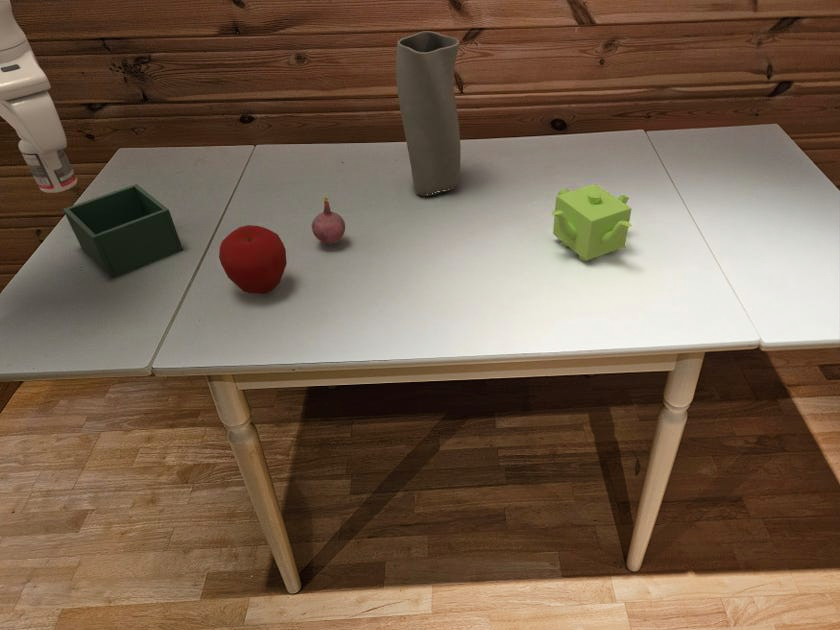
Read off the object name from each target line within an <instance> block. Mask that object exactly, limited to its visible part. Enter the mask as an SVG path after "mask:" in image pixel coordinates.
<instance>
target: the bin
mask: <svg viewBox="0 0 840 630" xmlns="http://www.w3.org/2000/svg"><path fill="white" fill-rule="evenodd" d="M62 210H63V212H64V215H65V216H66V219H67V221H68V223H69V225H70V227H71V230H72V232H73V233H74V236H75V237H76V240H77V242H78V243H79V246H80V248H81V250H82V251H83V252H84V253H85V254H86V255H87V256H88V257H89V258H90V259H91V260H92V261H93V262H94V263H95V264H96V265H97V266H98V267H99V268H100V269H101V270H102V272H104V273H105V275H107V276H108V278H110V279H111V280H113V279H116V278H118V277H120V276H123V275H125V274H128V273H130V272H132V271H135V270H138V269H140V268H142V267H144V266H148V265H150V264H152V263H154V262H156V261H157V262H158V261H160V260H162V259H165V258H168V257H169V256H171V255H174V254H177V253H179V252H182V251H183V250H184V249H183V245H182V242H181V240H180V237H179V234H178V231H177V229H176V226H175V223H174V220H173V217H172V214H171V211H170V209H169V208H167V207H166V206H165V205H164V204H162V203H161V202H160V201H159V200H158V199H156V197H154V196H152V194H150V193H149V192H148V191H146V190H145V189H144V188H142V187H141V186H140V185H139V184H138V183H135V184H132V185H129V186H127V187H126V186H125V187H124V188H120V189H118V190H115V191H112V192H107V193H105V194H103V195H100V196H97V197H94V198H91V199H88V200H85V201H82V202H79V203H76V204H73V205H70V206H68V207H65V208H62Z"/></svg>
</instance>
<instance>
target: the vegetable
mask: <svg viewBox="0 0 840 630" xmlns="http://www.w3.org/2000/svg"><path fill="white" fill-rule="evenodd" d="M323 201H324V202H323V204H324V206H323V211H322V212H320V213H318V214H317V215H316V216H315V217H314V219H313V220H312V223H311V230H312V234H313V236H314V237H315V238H316V239H317V240H318V241H320V242H322V243H324V244H327V245H331V244H336V243H337V242H339V241H340V240H341V239H342V238H343V237H344V235H345V231H346V222H345V220H344V219H343V217H342V216H341V215H340V214H338V213H337V212H334V211H331V206H330V202H329V199H328V197H327V196H326V195H325V196H323Z"/></svg>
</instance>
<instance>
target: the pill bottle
mask: <svg viewBox="0 0 840 630" xmlns="http://www.w3.org/2000/svg"><path fill="white" fill-rule="evenodd" d="M14 130H15V132H16V134H17V136H18V137H19V139H21V140H19V142H18V145H17V146H18V149H19V151H20V154H21V155H22V157H23V159H24V162H25V163H26V165H27V167H28V169H29V170H30V173H31V174H32V176H33V179H34V181H35V182H36V184H37V186H38V188H39V190H40V191H42V192H44V193H49V194H55V193H57V194H58V193H61V192H65V191H67V190H70V189H71V188H73V187H74V186H76V185H77V183H78V178H77V176H76V172H75V171H74V169H73V167H72V164H71V162H70V160H69V157H68V156H67V154H66V152H65V150H64V149H61V150H58V151H57V154H58V158H59V160H60V162H61V165H62V167H61V168H60V169H57V170H54V171H52V170H50V169H49V168H48V167H47V166H46V165H45V163H44V161H43V159H42V155H41V153H40V152H39V151H38V150H37V149H36V148H35V147H34V146H33V145H32V144H31V143H30V142H29V141H27V140H26V139H25V138H24V137H23V136H22V135H21V134H20V133H19V132H18V130H17V129H16V128H15V129H14Z"/></svg>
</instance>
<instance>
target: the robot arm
mask: <svg viewBox="0 0 840 630" xmlns="http://www.w3.org/2000/svg"><path fill="white" fill-rule="evenodd" d="M51 88H52V86H51V82H50V80H49V79H48V76H47V75H46V73H45V72H44V70H43V69H42V67H41V66H40V64H39V62H38V59H37V57H36V55H35V53H34V51H33V49H32V47H31V45H30V43H29V40H28V39H27V36H26V34H25V32H24V31H23V29H22V28H21V27H20V26H19V24H18V22H17V21H16V19H15V17H14V14H13V10H12V3H11V0H0V117H1V118H2V119H3V120H4V121H5V122H6V123H8V124H9V125H10V126H11V127H12V128H13V129H14V130H15V128H16V129H17V130H18V132H19V133H20V134H21V135H22V136H23V137H24V138H25V139H26V140H27V141H29V142H30V143H31V144H32V145H33V146H34V147H35V148H36V149H37V150H38V151H39V152H40V153H41V155H42V159H43V161H44V163H45V165H46V166H47V167H48V168H49V169H50V170H52V171H54V170H57V169H60V168H61V167H62V165H61V162H60V160H59V158H58V154H57V151H58V150H61V149H63V150H64V149H66V148H67V146H68V141H67V137H66V136H67V135H66V133H65V129H64V128H63V127H64V126H63V125H62V121H61V119H60V117H59V114H58V111H57V108H56V106H55V103H54V101H53V98H52V97H51V95H50V93H49V92H48V90H50V89H51Z"/></svg>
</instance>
